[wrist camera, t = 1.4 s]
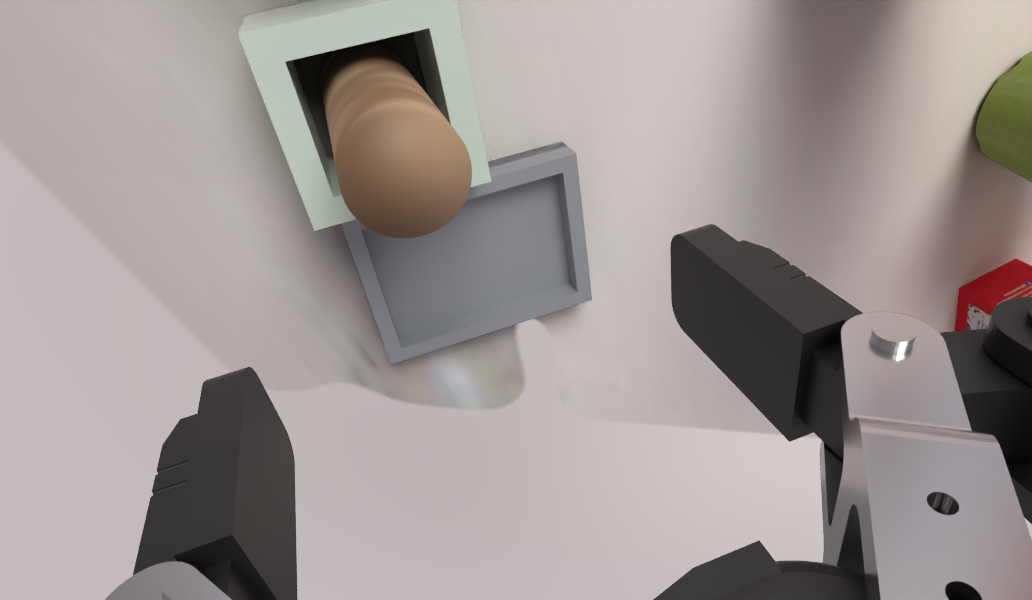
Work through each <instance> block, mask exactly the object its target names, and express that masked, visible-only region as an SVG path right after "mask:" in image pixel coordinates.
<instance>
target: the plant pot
mask: <svg viewBox="0 0 1032 600" xmlns="http://www.w3.org/2000/svg"><path fill="white" fill-rule="evenodd" d="M976 137H977V139H978V141H979V144H980V148H981V149H980V151H981V152H982V153H983V154H984V155H985V156H987V157H989V158H990V159H992V160H994V161H995V162H997V163H999V164H1000V165H1002V166H1004V167H1006V168H1008V169H1009V170H1011V171H1013V172H1015V173H1016V174H1018V175H1020V176H1022V177H1023V178H1025V179H1027V180H1029V181H1031V182H1032V52H1031V53H1029V54H1027V55H1025V56H1024V57H1023V58H1022V59H1021V61H1020V63H1019V64H1018V65H1016V66H1015V67H1014V68H1013V69H1011V70H1010V71H1008V72H1007V73H1005V74H1004V75H1002V76H1001V77H1000V78H999V80H998V81H997V82H996V84H995V85H994V86H993V88H992V89H991V91H990V93H989V94H988V96H987V98H986V100H985V102H984V104H983V106H982V108H981V111H980V114H979V117H978V120H977V124H976Z"/></svg>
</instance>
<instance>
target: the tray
mask: <svg viewBox="0 0 1032 600" xmlns="http://www.w3.org/2000/svg"><path fill="white" fill-rule="evenodd" d="M488 166H489V171H490V176H491V182H488V183H484V184H481V185H477V186H474V187H470V191H469V194H468V196H467V199H466V201H465V203H464V205H463V206H462V208H461V209H460V211H459V212H458V213H457V214H456V216H455V217H454V218H453V219H452V220H451V221H449V222H448V223H447V224H446V225H444V226H443V227H441V228H440V229H438V230H436V231H434V232H432V233H429V234H427V235H424V236H420V237H415V238H394V237H388V236H385V235H381V234H379V233H376V232H374V231H372V230H371V229H369V228H367V227H366V226H364V225H363V224H362V223H360V222H359V221H358V220H357V219H356V220H352V221H349V222H345V223H341V226H342V229H343V232H344V235H345V237H346V240H347V243H348V246H349V248H350V251H351V254H352V257H353V260H354V262H355V265H356V268H357V271H358V273H359V276H360V279H361V282H362V285H363V287H364V290H365V293H366V296H367V298H368V301H369V304H370V307H371V310H372V312H373V315H374V318H375V321H376V323H377V326H378V329H379V332H380V335H381V337H382V340H383V343H384V346H385V348H386V351H387V354H388V357H389V360H390V362H391V364H394V363H397V362H400V361H403V360H406V359H409V358H412V357H415V356H419V355H422V354H425V353H428V352H431V351H434V350H437V349H440V348H443V347H446V346H450V345H453V344H456V343H459V342H462V341H465V340H468V339H471V338H474V337H478V336H481V335H484V334H487V333H490V332H493V331H496V330H499V329H502V328H506V327H509V326H512V325H515V324H518V323H521V322H524V321H527V320H530V319H533V318H537V317H540V316H543V315H546V314H549V313H552V312H555V311H558V310H561V309H565V308H568V307H571V306H574V305H577V304H580V303H583V302H586V301H589V300H592V295H591V286H590V277H589V267H588V258H587V249H586V240H585V231H584V222H583V213H582V203H581V194H580V185H579V176H578V167H577V158H576V153H575V152H573V151H572V150H571V149H570V148H569V147H567V146H566V145H565V144H564V143H563V142H559V143H555V144H552V145H548V146H544V147H541V148H537V149H533V150H530V151H526V152H523V153H519V154H515V155H512V156H508V157H504V158H501V159H497V160H493V161H490V162H488Z"/></svg>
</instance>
